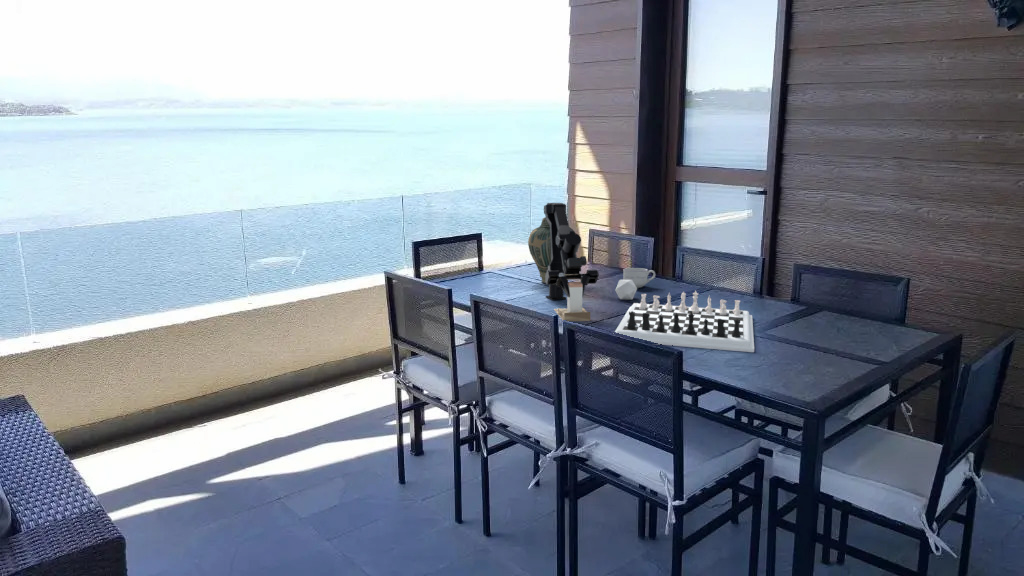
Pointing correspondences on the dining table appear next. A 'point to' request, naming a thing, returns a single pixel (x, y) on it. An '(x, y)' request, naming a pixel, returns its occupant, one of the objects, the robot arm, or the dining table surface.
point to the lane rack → (573, 315)
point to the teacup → (637, 276)
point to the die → (626, 289)
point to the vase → (541, 247)
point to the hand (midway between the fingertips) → (575, 296)
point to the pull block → (575, 297)
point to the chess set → (689, 325)
